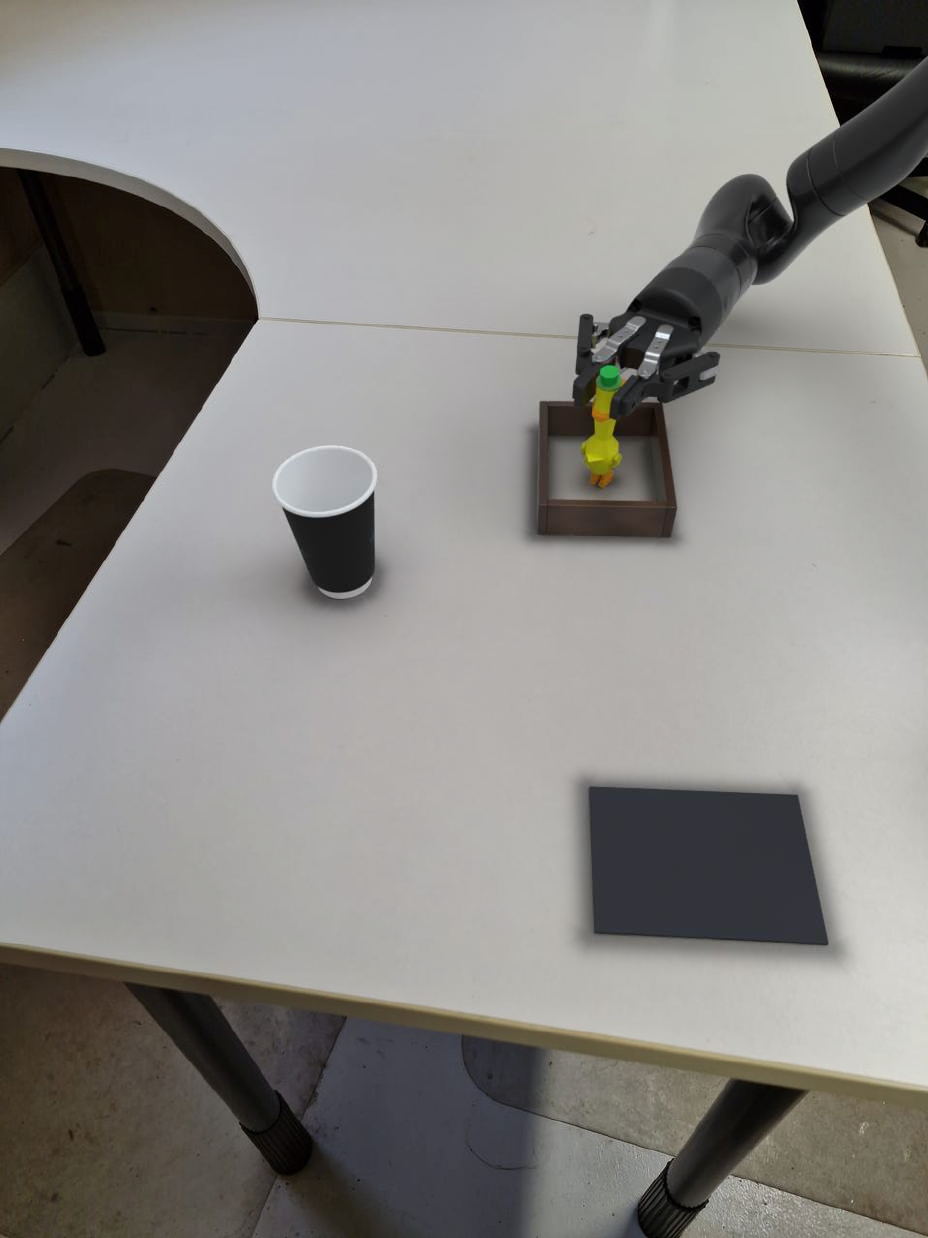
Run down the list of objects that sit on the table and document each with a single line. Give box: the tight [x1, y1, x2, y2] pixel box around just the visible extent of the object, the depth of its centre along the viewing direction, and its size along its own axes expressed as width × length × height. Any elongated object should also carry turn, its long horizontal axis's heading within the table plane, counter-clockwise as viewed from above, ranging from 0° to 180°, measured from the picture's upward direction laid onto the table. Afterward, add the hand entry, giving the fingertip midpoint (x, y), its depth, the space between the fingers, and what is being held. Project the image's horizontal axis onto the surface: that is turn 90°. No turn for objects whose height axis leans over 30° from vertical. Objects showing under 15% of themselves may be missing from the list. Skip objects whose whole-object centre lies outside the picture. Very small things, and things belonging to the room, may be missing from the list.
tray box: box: [536, 400, 678, 538], centre depth 78 cm, size 12×15×4 cm
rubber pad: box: [588, 785, 829, 946], centre depth 55 cm, size 14×10×1 cm
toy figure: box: [580, 366, 628, 489], centre depth 74 cm, size 7×4×12 cm, turn 148°
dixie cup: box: [270, 444, 378, 600], centre depth 68 cm, size 8×8×11 cm
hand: (595, 403), depth 70 cm, fingers closed on toy figure, 2 cm apart
